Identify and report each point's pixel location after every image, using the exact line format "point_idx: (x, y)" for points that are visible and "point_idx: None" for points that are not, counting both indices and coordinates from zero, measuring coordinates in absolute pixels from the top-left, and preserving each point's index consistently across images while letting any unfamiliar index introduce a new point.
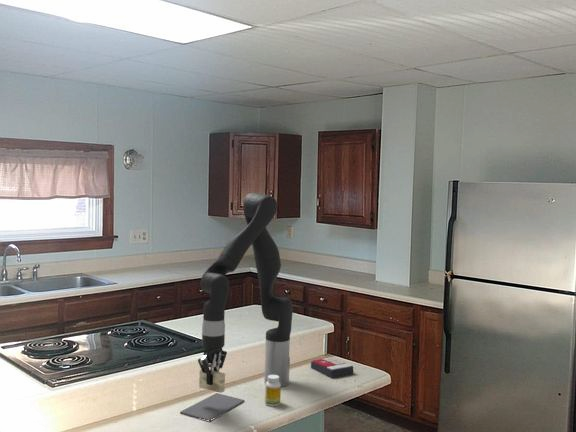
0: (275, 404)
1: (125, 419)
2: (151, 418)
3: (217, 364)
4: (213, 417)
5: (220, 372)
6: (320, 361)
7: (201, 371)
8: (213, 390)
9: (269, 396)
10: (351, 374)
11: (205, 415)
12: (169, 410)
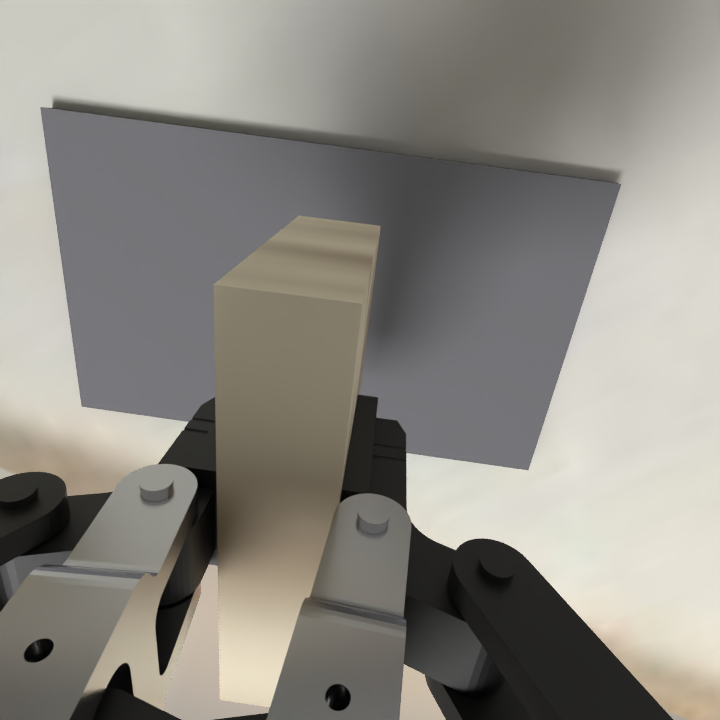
0: None
1: (709, 665)
2: (659, 568)
3: (142, 604)
4: (552, 180)
5: (228, 398)
6: None
7: None
8: (365, 344)
9: None
10: None
11: (532, 269)
12: (500, 536)
